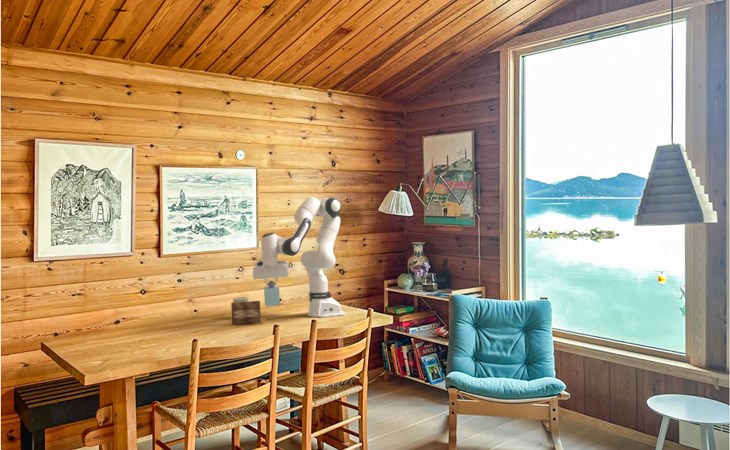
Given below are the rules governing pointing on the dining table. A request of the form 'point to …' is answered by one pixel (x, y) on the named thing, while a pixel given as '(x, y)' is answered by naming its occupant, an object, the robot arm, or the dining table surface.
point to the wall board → (245, 312)
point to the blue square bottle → (271, 295)
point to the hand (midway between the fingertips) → (271, 285)
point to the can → (240, 299)
